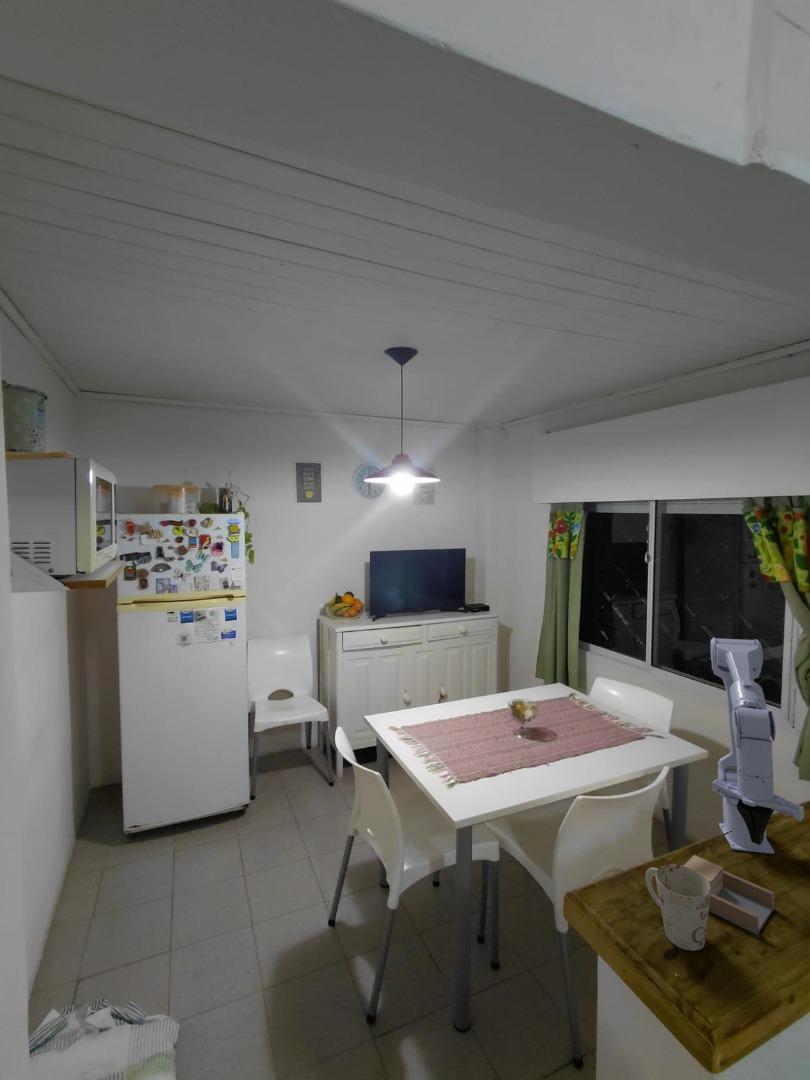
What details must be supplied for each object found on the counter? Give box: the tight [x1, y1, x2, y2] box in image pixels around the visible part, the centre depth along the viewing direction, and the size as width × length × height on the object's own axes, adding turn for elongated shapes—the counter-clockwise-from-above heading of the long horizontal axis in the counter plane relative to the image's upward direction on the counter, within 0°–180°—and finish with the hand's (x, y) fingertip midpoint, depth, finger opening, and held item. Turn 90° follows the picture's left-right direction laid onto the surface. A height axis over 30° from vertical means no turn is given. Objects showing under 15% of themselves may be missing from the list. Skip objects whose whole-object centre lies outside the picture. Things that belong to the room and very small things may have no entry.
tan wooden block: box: [683, 854, 724, 896], centre depth 99 cm, size 5×6×4 cm
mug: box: [645, 863, 711, 952], centre depth 91 cm, size 8×13×10 cm, turn 22°
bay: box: [690, 856, 775, 936], centre depth 97 cm, size 14×9×3 cm, turn 39°
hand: (757, 841), depth 99 cm, fingers closed
